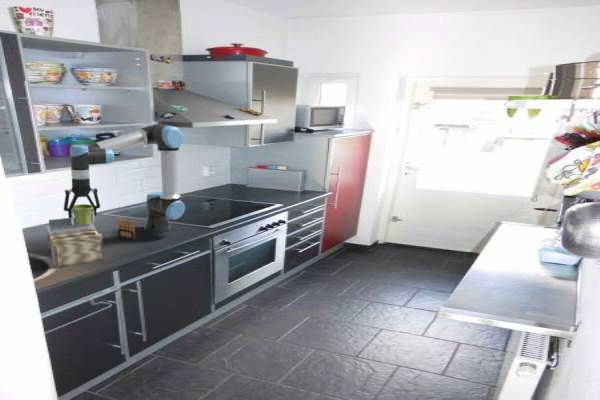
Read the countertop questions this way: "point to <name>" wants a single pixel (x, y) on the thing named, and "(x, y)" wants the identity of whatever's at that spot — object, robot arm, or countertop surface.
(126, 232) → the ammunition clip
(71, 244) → the housing
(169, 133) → the robot arm
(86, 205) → the plant pot
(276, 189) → the countertop surface
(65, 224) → the lid
